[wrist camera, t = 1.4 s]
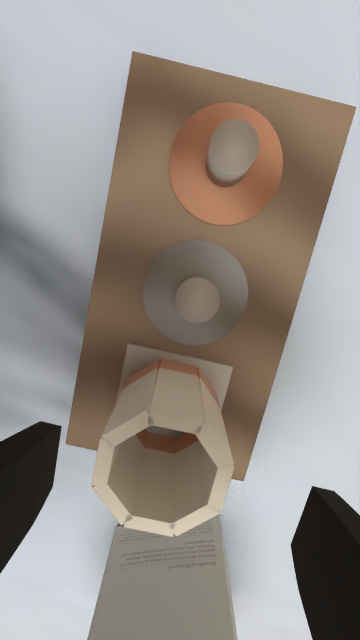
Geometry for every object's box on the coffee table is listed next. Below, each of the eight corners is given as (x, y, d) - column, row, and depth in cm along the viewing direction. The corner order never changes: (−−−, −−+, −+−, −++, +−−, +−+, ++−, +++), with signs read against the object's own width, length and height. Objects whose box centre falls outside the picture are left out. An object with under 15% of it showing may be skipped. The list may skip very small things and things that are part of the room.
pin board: (239, 465, 20) (254, 522, 16) (74, 430, 20) (43, 478, 16) (340, 120, 16) (398, 69, 12) (137, 70, 16) (119, -2, 12)
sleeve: (202, 453, 18) (211, 545, 12) (116, 435, 18) (84, 519, 12) (224, 372, 17) (245, 429, 11) (133, 352, 17) (107, 400, 11)
